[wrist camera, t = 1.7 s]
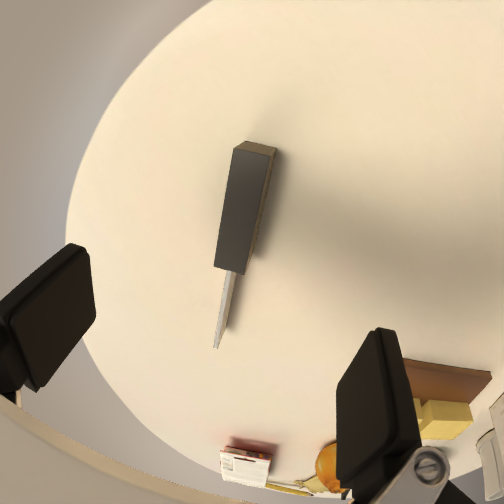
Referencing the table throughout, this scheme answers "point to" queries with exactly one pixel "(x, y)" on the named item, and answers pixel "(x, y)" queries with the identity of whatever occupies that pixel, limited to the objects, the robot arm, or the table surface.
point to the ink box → (245, 467)
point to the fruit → (328, 469)
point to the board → (444, 382)
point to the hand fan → (313, 485)
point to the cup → (492, 465)
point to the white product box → (499, 422)
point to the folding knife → (344, 494)
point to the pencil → (288, 490)
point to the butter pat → (418, 410)
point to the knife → (241, 217)
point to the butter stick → (444, 419)
